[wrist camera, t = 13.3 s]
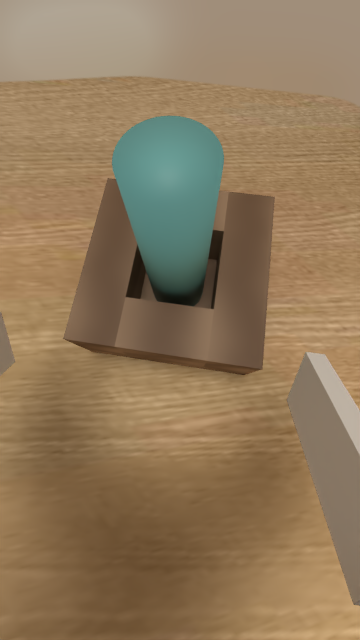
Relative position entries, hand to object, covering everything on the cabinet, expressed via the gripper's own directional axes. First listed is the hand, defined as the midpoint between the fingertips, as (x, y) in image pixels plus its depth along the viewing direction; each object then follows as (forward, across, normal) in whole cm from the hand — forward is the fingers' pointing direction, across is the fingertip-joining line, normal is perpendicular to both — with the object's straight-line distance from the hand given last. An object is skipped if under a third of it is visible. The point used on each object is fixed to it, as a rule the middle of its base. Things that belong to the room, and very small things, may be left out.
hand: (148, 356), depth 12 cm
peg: (+10, 0, -1) cm, 10 cm away
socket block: (+11, 0, -2) cm, 11 cm away
